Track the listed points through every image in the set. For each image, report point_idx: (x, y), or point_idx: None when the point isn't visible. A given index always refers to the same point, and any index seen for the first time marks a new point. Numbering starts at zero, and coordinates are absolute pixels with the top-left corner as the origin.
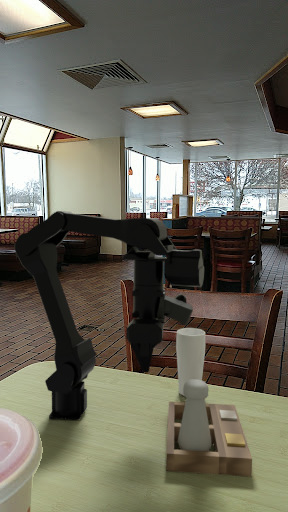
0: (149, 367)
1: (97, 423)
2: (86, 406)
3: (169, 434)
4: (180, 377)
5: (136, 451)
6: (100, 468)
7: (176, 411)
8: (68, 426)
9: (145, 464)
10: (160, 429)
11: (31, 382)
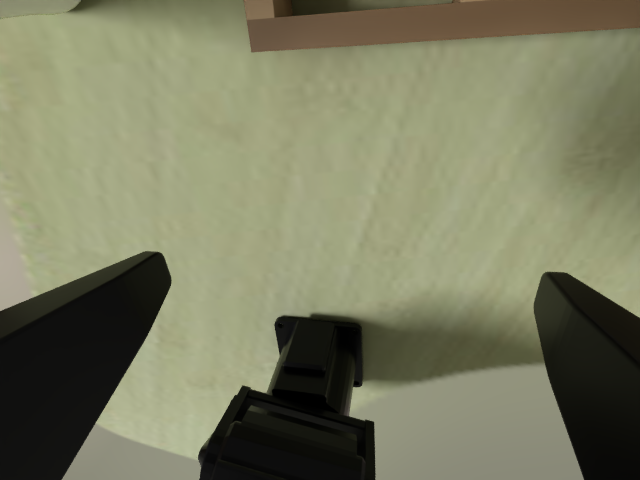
0: (605, 297)
1: (367, 279)
2: (304, 323)
3: (574, 20)
4: (16, 1)
5: (537, 149)
6: (619, 245)
7: (283, 5)
8: (391, 340)
9: (629, 109)
10: (385, 72)
11: (199, 427)
